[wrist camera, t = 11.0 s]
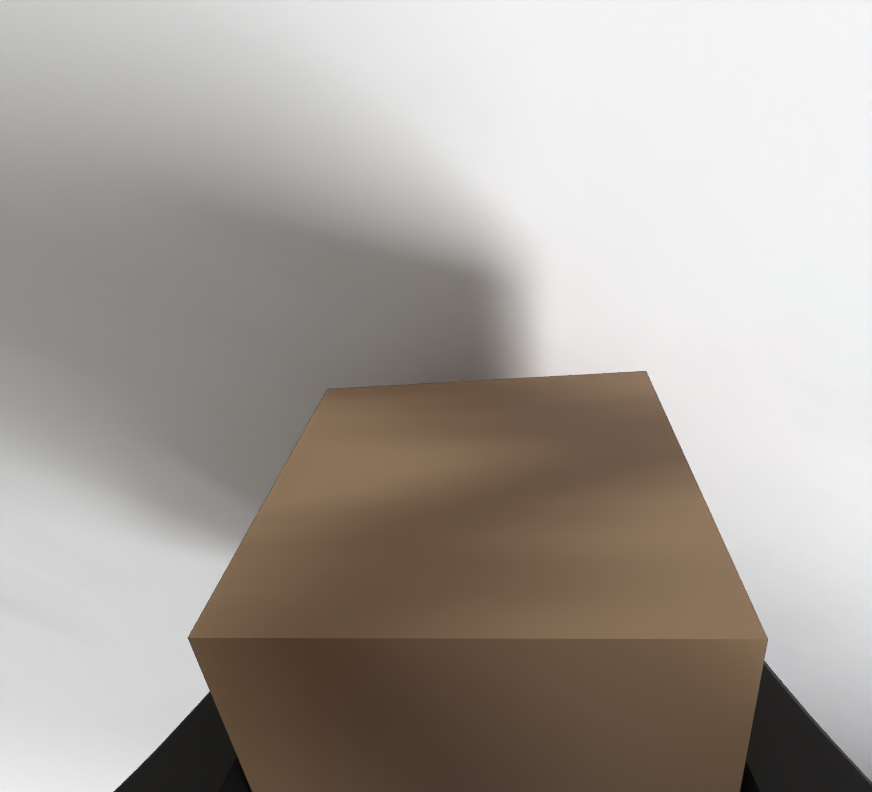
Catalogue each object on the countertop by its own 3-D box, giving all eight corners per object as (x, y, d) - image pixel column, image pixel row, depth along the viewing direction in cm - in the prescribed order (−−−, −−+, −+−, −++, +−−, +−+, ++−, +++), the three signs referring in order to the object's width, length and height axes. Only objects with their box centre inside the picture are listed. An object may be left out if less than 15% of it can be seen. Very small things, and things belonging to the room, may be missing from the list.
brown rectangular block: (645, 370, 9) (766, 638, 5) (632, 682, 13) (698, 1013, 8) (327, 389, 10) (188, 637, 6) (390, 679, 13) (331, 983, 9)
